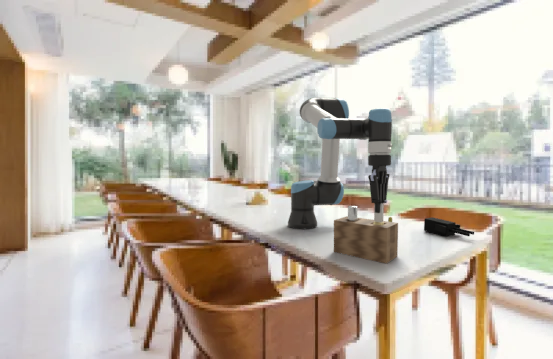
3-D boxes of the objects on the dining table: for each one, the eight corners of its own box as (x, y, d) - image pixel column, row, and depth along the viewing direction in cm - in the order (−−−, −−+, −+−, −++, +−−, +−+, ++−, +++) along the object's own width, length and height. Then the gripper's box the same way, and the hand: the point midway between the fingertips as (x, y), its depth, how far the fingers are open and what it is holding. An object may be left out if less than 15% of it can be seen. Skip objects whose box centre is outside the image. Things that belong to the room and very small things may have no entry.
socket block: (333, 251, 116) (333, 220, 115) (346, 246, 123) (346, 216, 122) (386, 263, 102) (387, 227, 102) (397, 256, 110) (398, 222, 109)
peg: (346, 233, 115) (346, 206, 115) (350, 231, 118) (350, 205, 117) (354, 234, 113) (354, 207, 112) (358, 232, 116) (358, 206, 115)
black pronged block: (478, 240, 133) (435, 229, 150) (479, 226, 132) (436, 216, 149) (463, 243, 127) (420, 232, 145) (464, 229, 127) (421, 219, 144)
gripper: (382, 154, 99) (381, 226, 101) (397, 154, 109) (396, 220, 111) (361, 154, 104) (360, 223, 106) (376, 154, 114) (376, 217, 116)
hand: (378, 221), depth 108 cm, fingers closed
